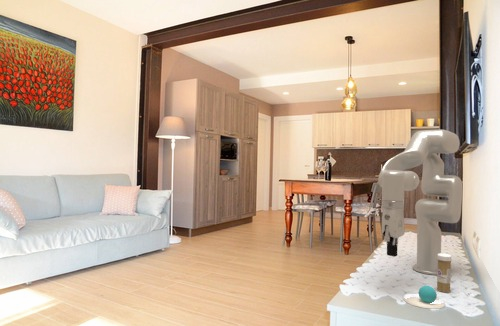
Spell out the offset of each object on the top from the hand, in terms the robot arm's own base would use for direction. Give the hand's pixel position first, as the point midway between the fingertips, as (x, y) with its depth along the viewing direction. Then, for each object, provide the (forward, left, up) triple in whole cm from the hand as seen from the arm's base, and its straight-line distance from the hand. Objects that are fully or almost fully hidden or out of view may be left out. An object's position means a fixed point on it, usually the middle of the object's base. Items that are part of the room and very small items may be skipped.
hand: (392, 255), depth 128 cm
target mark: (0, +11, -13) cm, 17 cm away
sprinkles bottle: (-16, +13, -14) cm, 25 cm away
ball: (0, +12, -11) cm, 16 cm away
